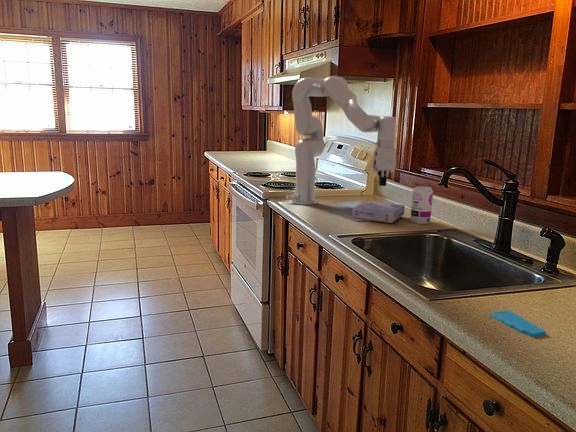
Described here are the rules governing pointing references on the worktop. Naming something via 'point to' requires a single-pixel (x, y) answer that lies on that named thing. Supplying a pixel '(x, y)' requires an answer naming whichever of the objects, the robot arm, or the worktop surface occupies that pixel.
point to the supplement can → (421, 205)
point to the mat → (348, 214)
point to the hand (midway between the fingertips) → (382, 185)
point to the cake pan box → (378, 211)
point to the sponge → (518, 323)
